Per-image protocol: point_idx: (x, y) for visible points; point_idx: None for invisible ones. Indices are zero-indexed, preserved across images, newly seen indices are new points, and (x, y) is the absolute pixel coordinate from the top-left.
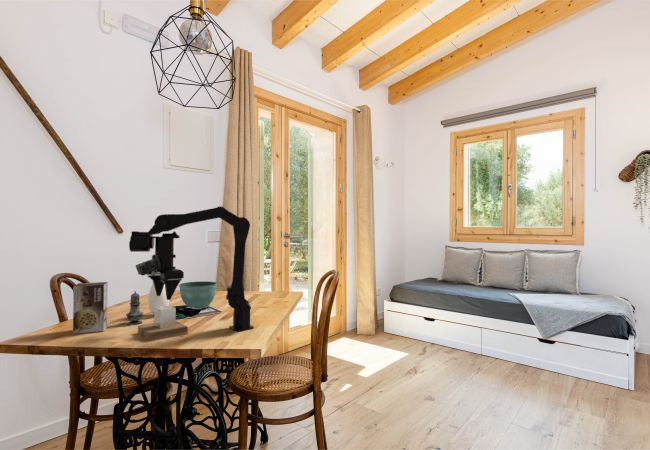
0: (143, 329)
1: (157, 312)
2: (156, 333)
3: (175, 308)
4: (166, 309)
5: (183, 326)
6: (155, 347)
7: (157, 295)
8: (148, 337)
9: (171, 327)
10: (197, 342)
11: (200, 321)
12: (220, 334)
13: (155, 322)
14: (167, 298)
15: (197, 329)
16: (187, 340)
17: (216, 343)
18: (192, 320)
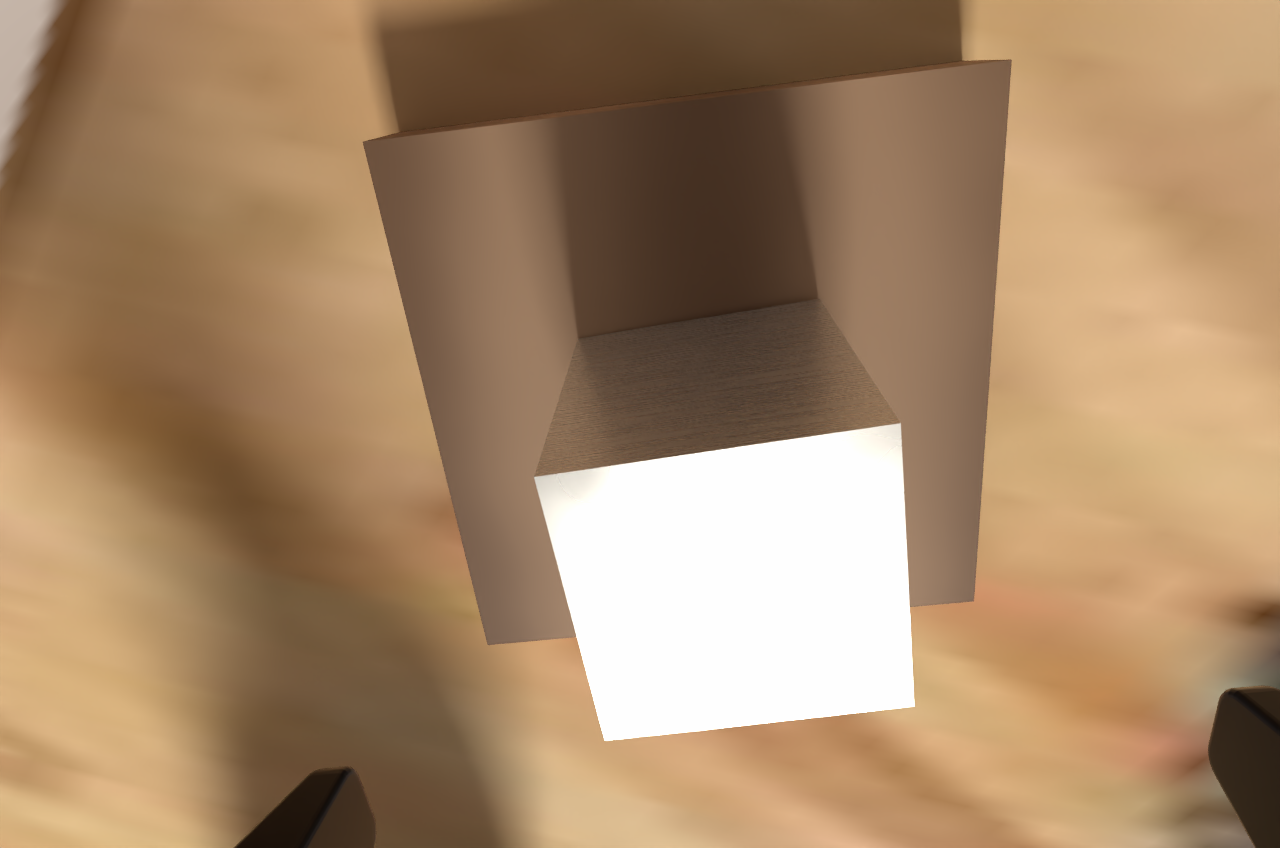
0: (697, 99)
1: (712, 414)
2: (395, 242)
3: (606, 731)
4: (575, 587)
5: (527, 609)
6: (68, 140)
7: (1236, 702)
8: (446, 127)
9: None
10: (111, 581)
11: (950, 809)
12: None
13: (771, 325)
14: (282, 807)
15: None
16: (232, 521)
17: (12, 703)
18: (1063, 764)
